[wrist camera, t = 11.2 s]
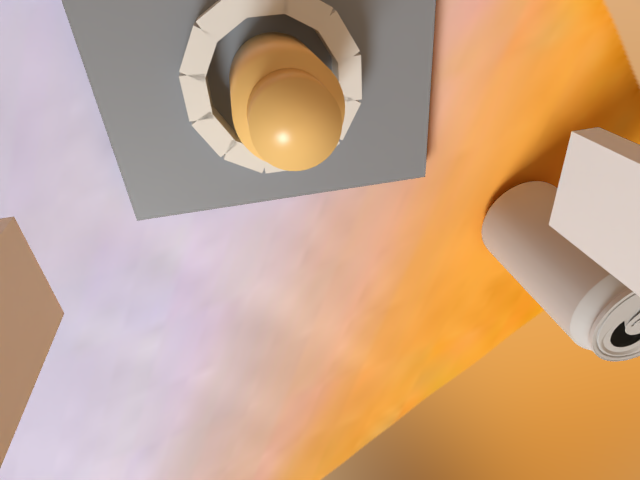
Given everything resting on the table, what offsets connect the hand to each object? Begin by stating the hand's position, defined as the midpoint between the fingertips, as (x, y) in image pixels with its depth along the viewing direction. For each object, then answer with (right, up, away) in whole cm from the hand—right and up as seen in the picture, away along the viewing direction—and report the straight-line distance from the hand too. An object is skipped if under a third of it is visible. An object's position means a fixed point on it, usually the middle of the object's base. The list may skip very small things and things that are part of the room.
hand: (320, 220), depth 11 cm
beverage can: (+15, +1, +23) cm, 27 cm away
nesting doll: (-2, +8, +13) cm, 15 cm away
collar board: (-3, +9, +14) cm, 17 cm away
